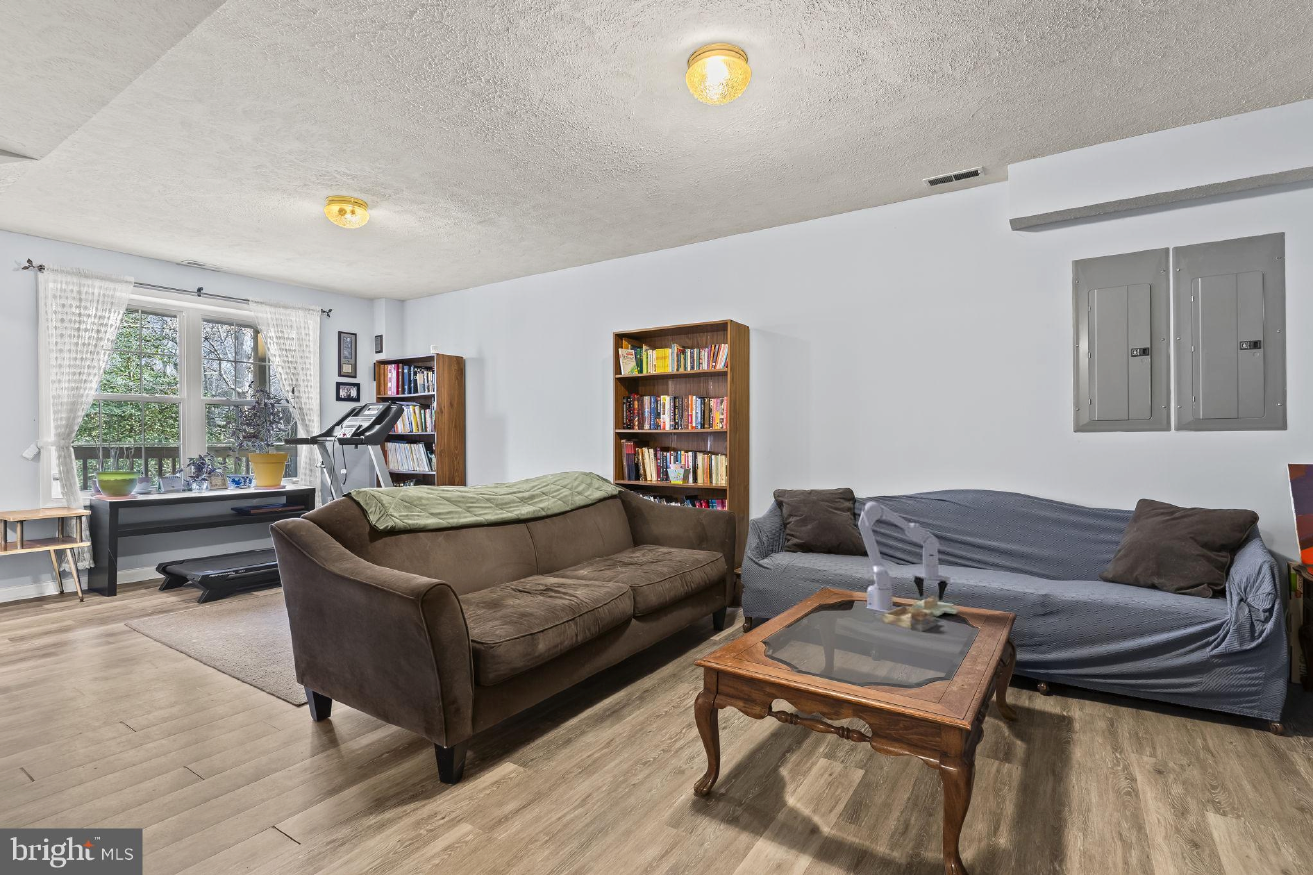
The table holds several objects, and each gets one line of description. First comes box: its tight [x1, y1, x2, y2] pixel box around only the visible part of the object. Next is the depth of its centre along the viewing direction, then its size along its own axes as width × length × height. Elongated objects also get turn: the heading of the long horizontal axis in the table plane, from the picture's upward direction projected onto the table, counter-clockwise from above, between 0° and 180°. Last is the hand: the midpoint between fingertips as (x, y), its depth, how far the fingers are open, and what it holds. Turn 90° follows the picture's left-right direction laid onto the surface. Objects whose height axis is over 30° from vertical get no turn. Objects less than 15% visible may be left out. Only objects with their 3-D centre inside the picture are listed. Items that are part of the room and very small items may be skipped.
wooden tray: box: [882, 605, 938, 633], centre depth 240 cm, size 16×17×4 cm
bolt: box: [911, 610, 927, 621], centre depth 231 cm, size 4×4×2 cm
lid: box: [910, 595, 960, 618], centre depth 252 cm, size 16×16×5 cm
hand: (931, 597), depth 254 cm, fingers open, 7 cm apart
